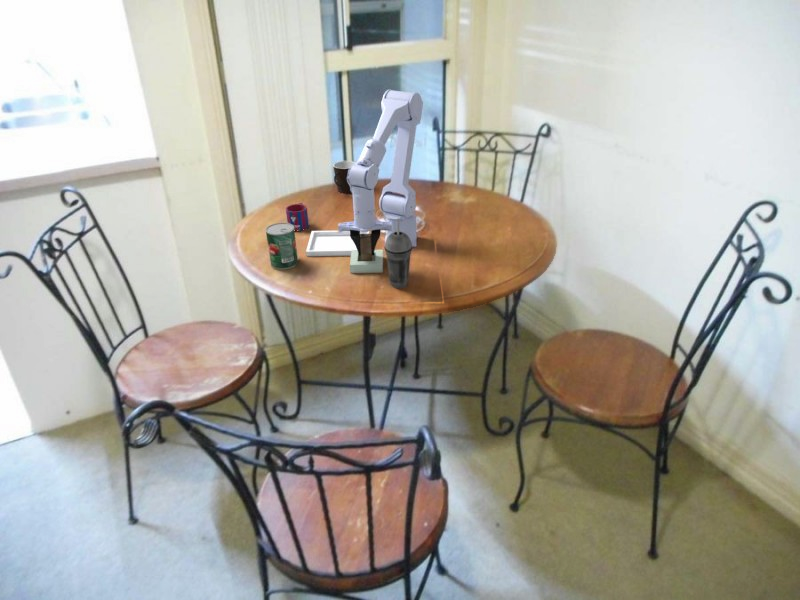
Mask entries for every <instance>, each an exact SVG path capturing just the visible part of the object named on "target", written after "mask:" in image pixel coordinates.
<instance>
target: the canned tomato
mask: <svg viewBox="0 0 800 600" xmlns="http://www.w3.org/2000/svg"><path fill="white" fill-rule="evenodd" d="M295 233H296V232H295V231H294V226H293V225H292V224H289V223H287V222H277V223H272V224H269V225H268V226H267V227H266V228H265V234H266V241H267V248H268V255H269V259H270V260H269V262H270V266H271V267H272V268H273V267H274V268H273V269H275V268H276V270H288V269H291V268H294V267H295V266H298V263H299V258H298V249H297V242H296V234H295Z"/></svg>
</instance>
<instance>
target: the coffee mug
mask: <svg viewBox="0 0 800 600" xmlns="http://www.w3.org/2000/svg"><path fill="white" fill-rule="evenodd" d="M356 163H357V162H355V161H351V160H340V161H337V162H335V163H333V164H332V167H333V173H334V176H333V181H334V184H335V185H336V189H337V192H338V193H339V192H340V193H339V194H341V193H343V195H349V194H350V195H351V194H353V193H352V192H351V191H350V185H349V184H348V182H347V175H348V171H349V168H350V167H351V166H353V165H354V164H356Z"/></svg>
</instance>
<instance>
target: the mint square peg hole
mask: <svg viewBox="0 0 800 600" xmlns="http://www.w3.org/2000/svg"><path fill="white" fill-rule="evenodd" d="M383 268H384V249H375V251H374V255H372V261H361V256H359V254H358V251H357V250H352V251H351V256H350V259H349V273H350V274H363V273H364V274H368V273H369V274H372V273H373V274H374V273H378V274H379V273H383V272H384V269H383Z"/></svg>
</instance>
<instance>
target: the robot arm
mask: <svg viewBox="0 0 800 600" xmlns="http://www.w3.org/2000/svg"><path fill="white" fill-rule="evenodd" d="M380 105H381V106H380V107H381V112H382V113H381V115H380V118H379V121H378V122H377V126H376V129H375V131H374V134H373V137H372V138H371V139H368V140H367V141H366V142H365V144H364V146H363V148H362V150H361V153H360V154H359V156H358V159H357V161H356V162H355V163H356V164H354V165H353V166H351V167H350V168H349V171H348V175H347V182H348V184H349V185H350V191H351V192H352V193H351V194H352V203H353V204H352V207H353V221H346V222H338V225H337V229H338V230H337V231H339V232H343V231H350V237H351V239H352V240H353V242H354V244H355V246H356V248H357V251H358V254H359V256H361V249H360V231H361V232H368V231H369V232H371V233H370V234H371V241H372V255H374V251H375V250H376V246H377V244H378V241H379V239H380V238H381V237H380V236H381V231H385V233H386V234H385V236H384V243H385V242H386V239H387V237H388V236H389V235H390V234H391V233H394V232H397V218H399V232H403V233H405V234H407V235H408V236H409V238H410V240H411V243H412V248H414V247H417V239H418V232H417V215H416V214H414V213H415V211H416V208H417V201H416V200H417V199H416V195H417V192H416V191H415V189H413V187H411V185H410V184H409V181H410V173H411V169H412V168H411V167H412V161H413V153H414V152H413V151H414V147H415V139H416V133H417V132H416V131H417V126H418V125H420V124H421V119H422V114H423V108H424V107H423V106H424V102H423V99H422V97H421V94H420V93H419V92H411V91H409V92H408V91H400V90H393V89H386V90H385V92H384V93H383V96H382V100H381V104H380ZM396 126H397V134H396V140H395V149H394V157H393V165H392V173H391V180H390V182H389V183H388V184H386V185H384V186H383V187H382V191H381V195H380V197H379V199H378V200H379V201H378V206H379V210H380V211H381V212H382V213H383V214H382V215H383V216H384V217H385V221H381V220H376V206H375V204H376V203H375V202H376V201H375V187H376V186H377V183H378V180H379V173H380V166H381V163H382V162H383V159H384V157H385V155H386V153H387V147H386V143H387V142H388V140H389V138H390V137H391V134H392V133H393V131H394V129H395V127H396Z"/></svg>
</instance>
